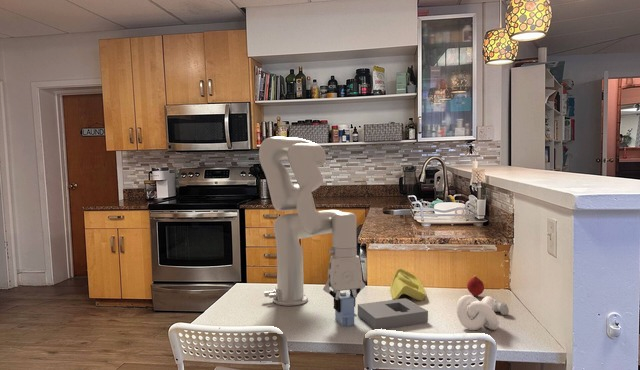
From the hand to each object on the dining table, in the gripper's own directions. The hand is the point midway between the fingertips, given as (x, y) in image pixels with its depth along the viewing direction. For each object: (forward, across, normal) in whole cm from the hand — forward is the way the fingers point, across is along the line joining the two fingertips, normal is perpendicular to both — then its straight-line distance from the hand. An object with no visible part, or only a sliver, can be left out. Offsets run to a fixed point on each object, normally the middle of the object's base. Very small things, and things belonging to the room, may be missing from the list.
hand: (344, 309), depth 125 cm
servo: (+4, 0, 0) cm, 4 cm away
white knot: (+4, +37, -17) cm, 41 cm away
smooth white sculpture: (+4, +51, -9) cm, 52 cm away
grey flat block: (+4, +15, -3) cm, 16 cm away
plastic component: (+4, +34, +18) cm, 38 cm away
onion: (+4, +55, +6) cm, 55 cm away
